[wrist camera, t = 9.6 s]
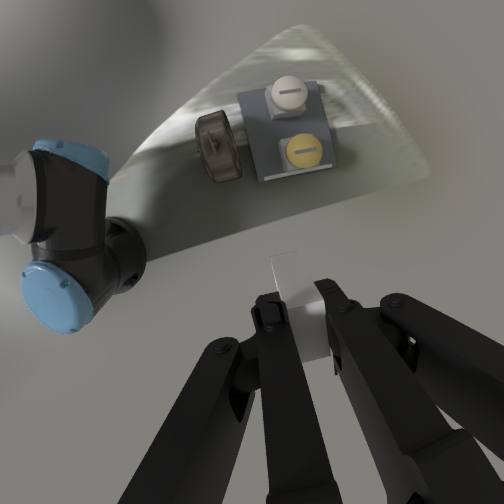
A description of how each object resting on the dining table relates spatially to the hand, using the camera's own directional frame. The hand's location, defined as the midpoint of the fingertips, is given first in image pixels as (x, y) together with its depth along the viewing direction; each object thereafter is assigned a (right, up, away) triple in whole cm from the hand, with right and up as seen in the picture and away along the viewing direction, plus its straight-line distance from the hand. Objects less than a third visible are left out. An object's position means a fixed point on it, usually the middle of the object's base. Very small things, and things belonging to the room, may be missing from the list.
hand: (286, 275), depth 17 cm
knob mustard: (+5, +18, +28) cm, 34 cm away
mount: (+4, +23, +29) cm, 37 cm away
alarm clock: (-7, +19, +30) cm, 37 cm away
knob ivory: (+3, +26, +26) cm, 37 cm away
